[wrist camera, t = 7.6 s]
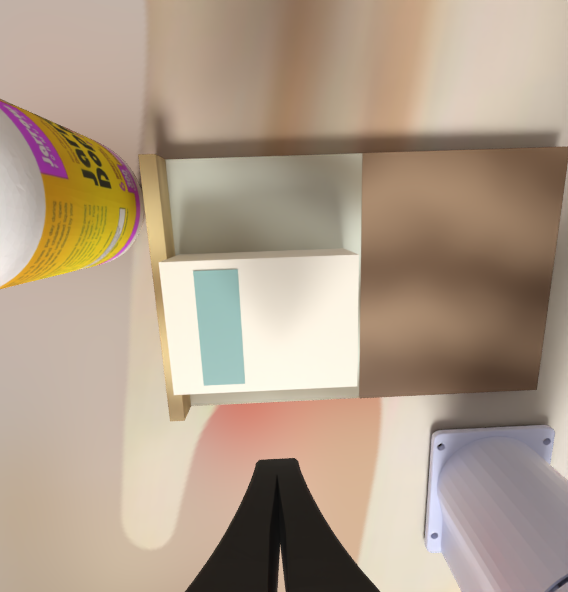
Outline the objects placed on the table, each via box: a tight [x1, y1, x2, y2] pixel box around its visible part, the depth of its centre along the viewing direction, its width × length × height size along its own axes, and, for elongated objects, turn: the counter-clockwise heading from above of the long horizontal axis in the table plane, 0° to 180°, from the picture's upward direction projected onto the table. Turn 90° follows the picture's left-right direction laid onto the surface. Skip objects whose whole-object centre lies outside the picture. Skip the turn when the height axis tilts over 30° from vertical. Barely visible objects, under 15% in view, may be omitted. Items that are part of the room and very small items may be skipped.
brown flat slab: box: [138, 147, 568, 421], centre depth 19 cm, size 14×22×2 cm, turn 92°
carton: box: [159, 248, 359, 395], centre depth 18 cm, size 6×9×4 cm
